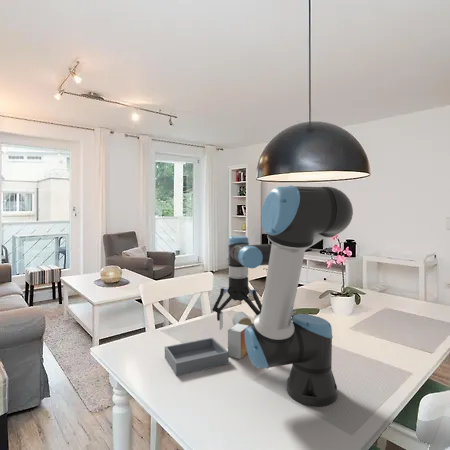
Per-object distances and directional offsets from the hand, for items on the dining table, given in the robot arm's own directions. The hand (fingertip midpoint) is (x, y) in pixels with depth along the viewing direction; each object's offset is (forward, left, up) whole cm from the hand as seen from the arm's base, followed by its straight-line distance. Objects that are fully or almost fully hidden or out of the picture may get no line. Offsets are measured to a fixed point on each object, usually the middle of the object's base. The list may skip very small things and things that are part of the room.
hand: (238, 330), depth 127 cm
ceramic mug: (+21, -14, -10) cm, 27 cm away
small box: (0, 0, -10) cm, 10 cm away
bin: (+2, +17, -9) cm, 19 cm away
